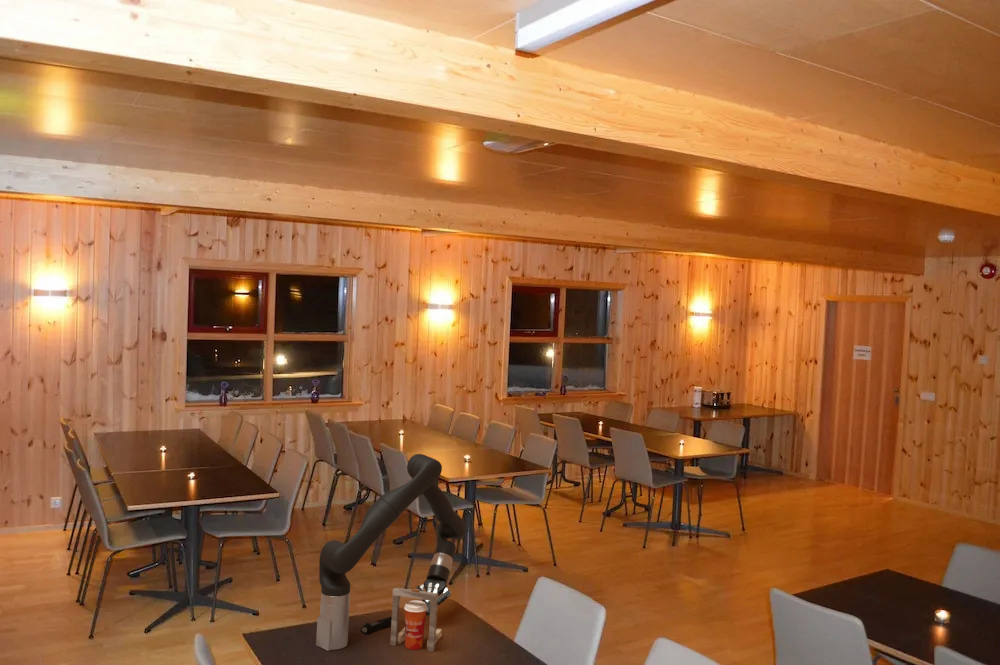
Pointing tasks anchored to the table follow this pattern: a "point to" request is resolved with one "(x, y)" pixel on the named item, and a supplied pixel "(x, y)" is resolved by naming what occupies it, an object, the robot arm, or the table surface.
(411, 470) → the robot arm
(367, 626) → the electric trimmer
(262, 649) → the table surface
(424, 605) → the paper cup
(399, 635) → the guide arch
